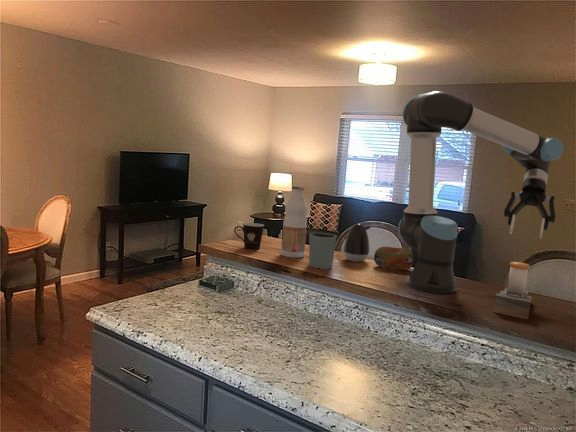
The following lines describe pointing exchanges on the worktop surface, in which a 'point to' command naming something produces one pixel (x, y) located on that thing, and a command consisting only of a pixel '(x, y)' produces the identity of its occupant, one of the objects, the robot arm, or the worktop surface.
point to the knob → (517, 278)
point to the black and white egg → (357, 243)
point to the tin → (394, 258)
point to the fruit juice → (295, 224)
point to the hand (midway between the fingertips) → (525, 233)
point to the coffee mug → (251, 235)
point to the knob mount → (512, 304)
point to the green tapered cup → (321, 250)
